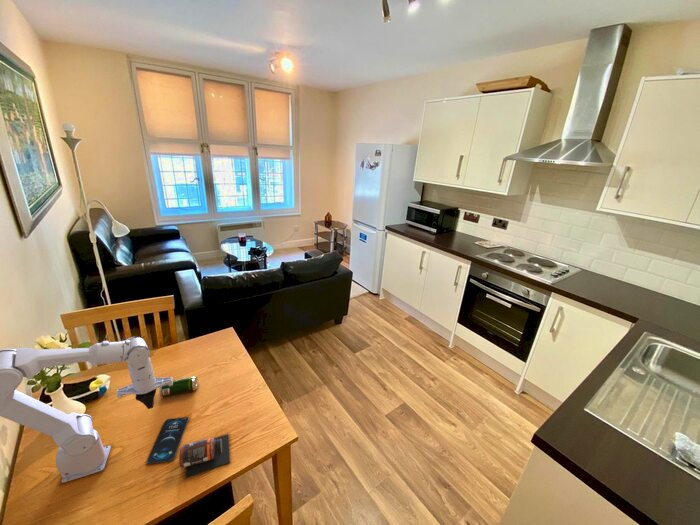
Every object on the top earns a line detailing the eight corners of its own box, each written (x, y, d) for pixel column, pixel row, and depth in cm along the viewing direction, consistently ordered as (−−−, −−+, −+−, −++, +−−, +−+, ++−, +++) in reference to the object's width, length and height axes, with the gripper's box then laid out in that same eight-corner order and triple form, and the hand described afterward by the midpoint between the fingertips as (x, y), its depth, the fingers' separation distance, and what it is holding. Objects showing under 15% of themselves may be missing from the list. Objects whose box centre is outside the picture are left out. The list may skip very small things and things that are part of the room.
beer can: (160, 400, 107) (196, 393, 111) (158, 388, 106) (194, 381, 110) (163, 391, 112) (197, 384, 116) (161, 379, 111) (196, 373, 115)
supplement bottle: (179, 473, 84) (221, 461, 87) (177, 453, 83) (220, 442, 87) (183, 460, 89) (223, 449, 93) (182, 441, 89) (221, 431, 93)
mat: (185, 478, 84) (185, 477, 84) (188, 447, 92) (188, 446, 92) (229, 462, 89) (229, 462, 89) (228, 434, 97) (228, 434, 97)
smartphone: (145, 463, 86) (165, 419, 100) (145, 464, 87) (165, 420, 100) (173, 459, 88) (189, 416, 101) (173, 460, 88) (189, 417, 102)
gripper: (171, 360, 95) (177, 390, 100) (116, 370, 89) (127, 403, 94) (168, 374, 89) (175, 406, 94) (110, 387, 83) (121, 420, 88)
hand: (151, 406), depth 94 cm, fingers closed
